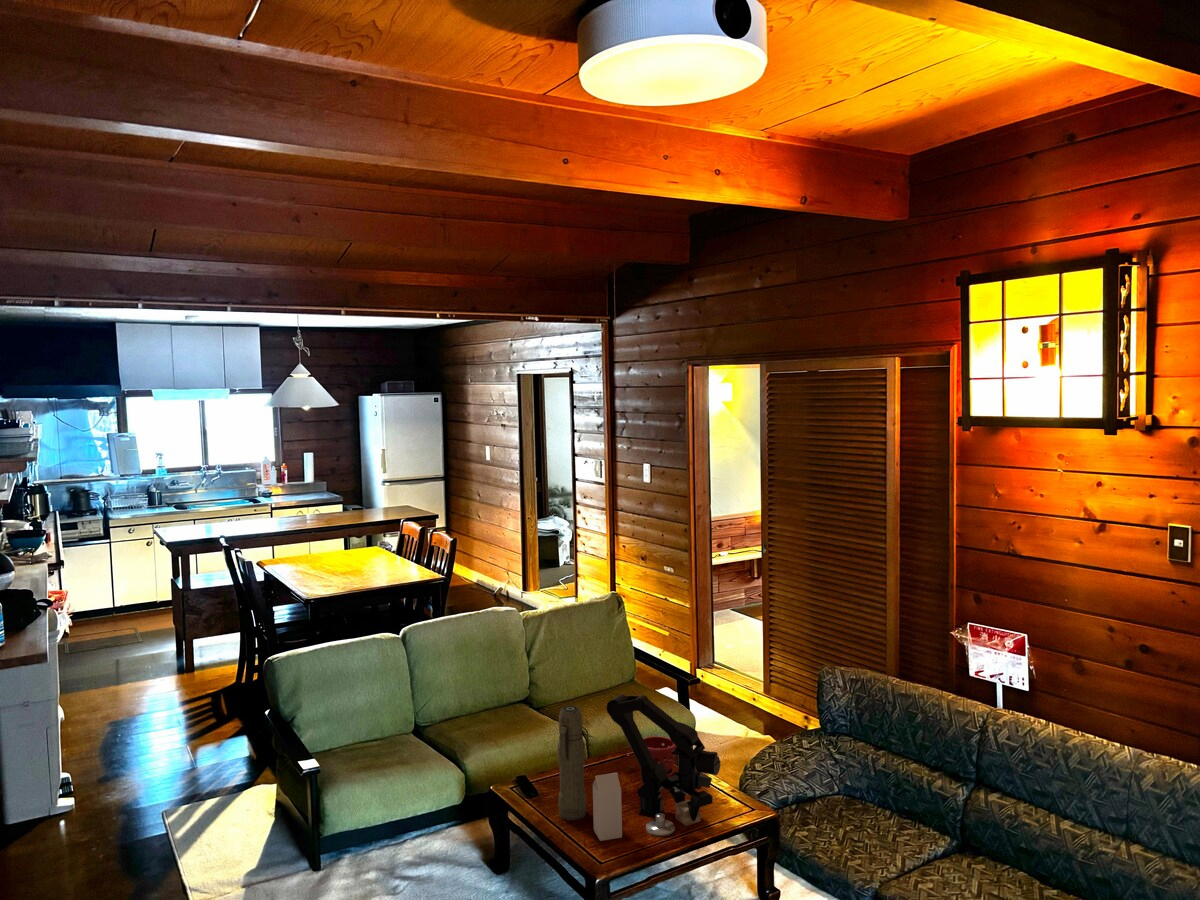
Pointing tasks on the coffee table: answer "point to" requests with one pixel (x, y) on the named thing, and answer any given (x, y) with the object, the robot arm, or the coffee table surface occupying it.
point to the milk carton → (607, 807)
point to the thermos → (571, 764)
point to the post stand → (660, 826)
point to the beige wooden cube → (685, 813)
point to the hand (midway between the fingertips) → (687, 816)
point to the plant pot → (662, 751)
